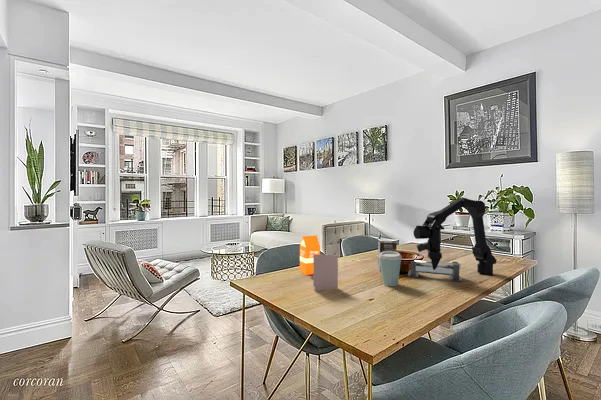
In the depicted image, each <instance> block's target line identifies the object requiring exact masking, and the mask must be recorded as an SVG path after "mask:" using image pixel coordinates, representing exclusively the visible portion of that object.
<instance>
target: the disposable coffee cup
mask: <svg viewBox="0 0 601 400" xmlns="http://www.w3.org/2000/svg"><path fill="white" fill-rule="evenodd" d="M378 258H379V261H380V267H381V271H380V273H381V277H382V284H383V285H384V286H386V287H396V286H398V284H399V280H400V278H399V277H400V272H401V271H400V270H401V263H402V262H401V261H402V258H403V257H402V255H401V254H400V252H397V251H396V252H393V251H384V252H381V253H380V255H379V257H378V256H377V259H378Z"/></svg>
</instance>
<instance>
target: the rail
mask: <svg viewBox="0 0 601 400" xmlns="http://www.w3.org/2000/svg"><path fill="white" fill-rule="evenodd" d="M414 261H416V266H421V267H433V266H432V261H431V260H419V259H418V260H417V259H416V260H414ZM453 264H459V271H460V270H461V263H460V262H458V263H452V262H445V261H443V262H442V261H439V263H438V265H437V267H436V268H445V269H453Z"/></svg>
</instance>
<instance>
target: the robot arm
mask: <svg viewBox="0 0 601 400" xmlns="http://www.w3.org/2000/svg"><path fill="white" fill-rule="evenodd" d="M462 208H466V209H467V213H468V214H469V216H470V217H471V219H472V225H473V232H474V233H473V234H474V240H475V244H474V246H472V247H471V251H472V255H473V257H474V258H475V261H476V262H478V263H477V264H476V266H477V267H476V271H477V273H478V274H479V275H484V276H494V265H496V264H497V259H496V257H495V256H494V255H493V253H492V249H491V247H490V246H489V244H488V242H487V237H486V231H485V224H484V223H485V222H484V216H485V214H486V203H485V202H484V201H482V200H473V199H469V198H466V197H458V198H457V199H456V200H453V202H451V203H450V204H448V205H446V206H445V207H443V208H441V209H439V210H437V211H433V212H431V213H429V214H427V216H426V219H425V221H424V222H423V223H422V225H415V228H414V230H413V237H414V238H415V239H417V240H422V239H423V240H424V239H427V241H425V242H423V243H418V244H416V248H417V251H418V253H420V252H423V251H427V258H428V259H430V261H432V266H433V270H435V269H436V267H437V265H438V263H439V262H441V259H442V258H443V256H442V255H443V254H442V252H441V250H442V249H441V243H442V242H441V230H443V231H445V229H446V228H445V227H444V226H442V225H443V223H444V222H446V220H447V218H448V217H449V216H452V214H454V213H456V212H457V211H459V210H460V209H462Z"/></svg>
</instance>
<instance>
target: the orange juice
mask: <svg viewBox="0 0 601 400" xmlns="http://www.w3.org/2000/svg"><path fill="white" fill-rule="evenodd" d="M299 244H300V245H299V272H300V271H301V272H300V273H302V274H304V275H313V254H317V255H321V245H320V241H319V238H318V235H314V234H313V235H304V236H303V235H302V238H301V241H300V243H299Z"/></svg>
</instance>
